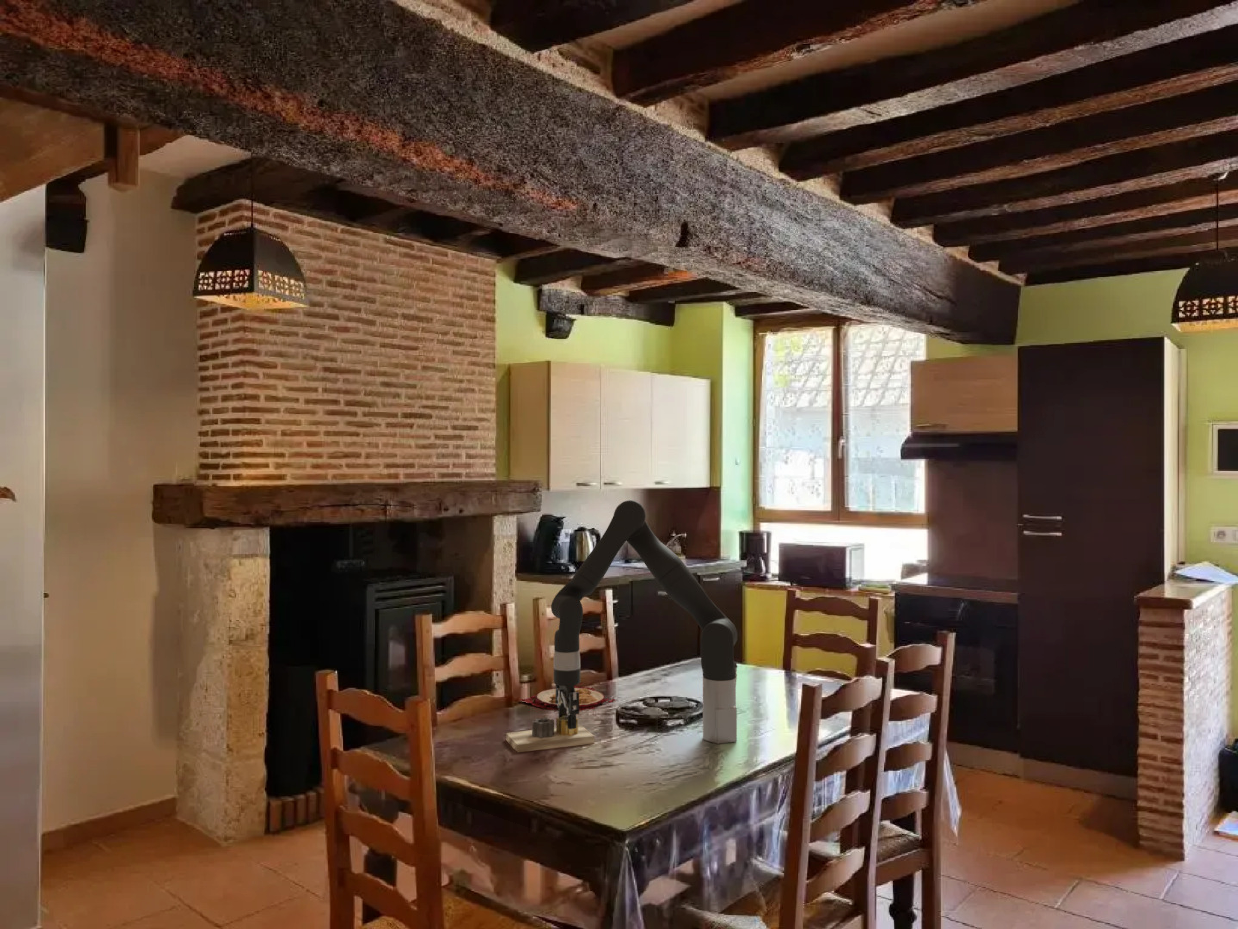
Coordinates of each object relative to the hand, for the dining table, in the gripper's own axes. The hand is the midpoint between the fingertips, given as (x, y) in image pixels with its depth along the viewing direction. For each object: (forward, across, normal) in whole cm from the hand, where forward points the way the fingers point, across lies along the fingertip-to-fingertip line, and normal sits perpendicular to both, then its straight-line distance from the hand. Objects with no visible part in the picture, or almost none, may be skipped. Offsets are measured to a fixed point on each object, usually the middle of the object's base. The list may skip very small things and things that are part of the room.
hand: (567, 724), depth 262 cm
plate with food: (+5, +40, -15) cm, 43 cm away
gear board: (+4, 0, +5) cm, 7 cm away
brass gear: (+2, 0, 0) cm, 2 cm away
